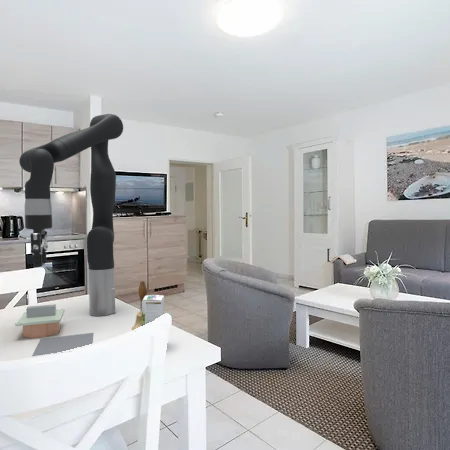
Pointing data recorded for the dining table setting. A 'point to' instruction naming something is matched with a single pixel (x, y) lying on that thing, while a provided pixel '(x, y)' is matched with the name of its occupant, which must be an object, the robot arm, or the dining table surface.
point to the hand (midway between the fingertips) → (40, 264)
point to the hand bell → (141, 294)
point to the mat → (62, 343)
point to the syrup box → (152, 308)
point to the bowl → (41, 330)
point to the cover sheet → (41, 319)
